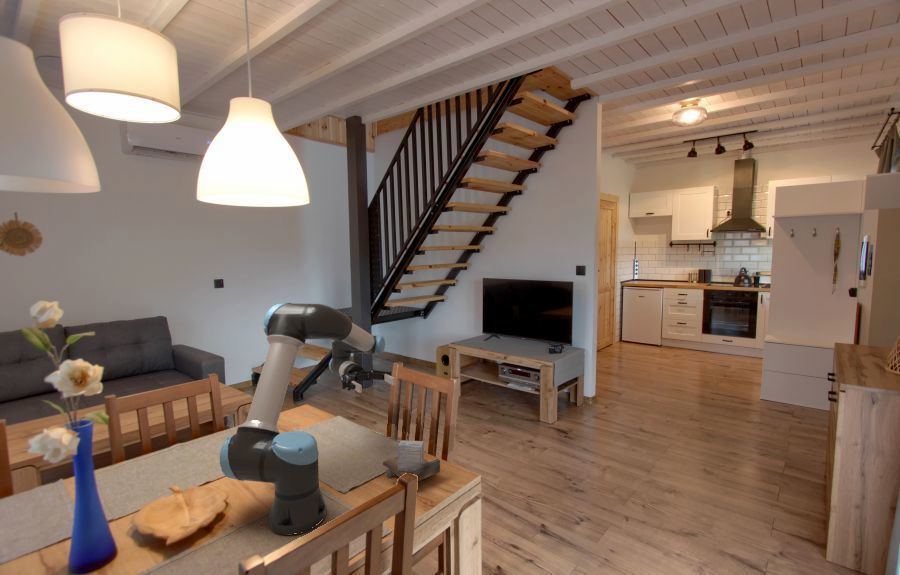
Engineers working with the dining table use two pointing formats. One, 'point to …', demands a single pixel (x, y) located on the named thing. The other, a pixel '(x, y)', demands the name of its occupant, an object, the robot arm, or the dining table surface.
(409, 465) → the medicine box
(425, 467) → the roller slab
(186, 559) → the dining table surface
